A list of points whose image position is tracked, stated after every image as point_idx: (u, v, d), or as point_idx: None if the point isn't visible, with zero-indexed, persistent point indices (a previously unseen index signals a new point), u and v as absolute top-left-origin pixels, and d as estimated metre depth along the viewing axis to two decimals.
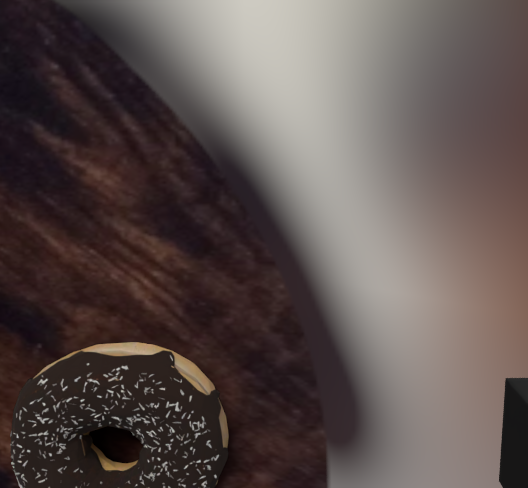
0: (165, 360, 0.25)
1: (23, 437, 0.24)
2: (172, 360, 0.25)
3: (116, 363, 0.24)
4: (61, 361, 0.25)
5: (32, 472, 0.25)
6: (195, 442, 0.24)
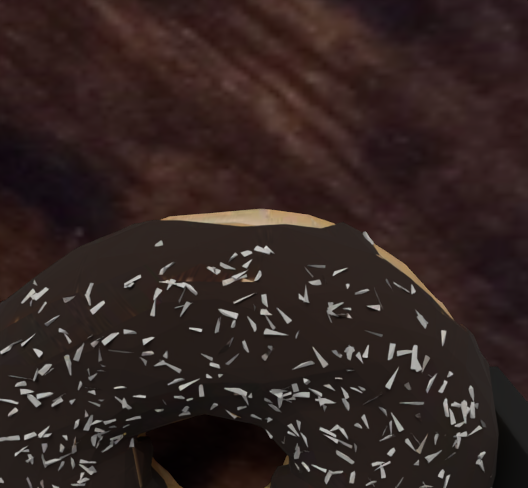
0: (357, 241, 0.09)
1: None
2: (371, 244, 0.10)
3: (238, 240, 0.09)
4: (84, 246, 0.09)
5: None
6: (452, 457, 0.09)
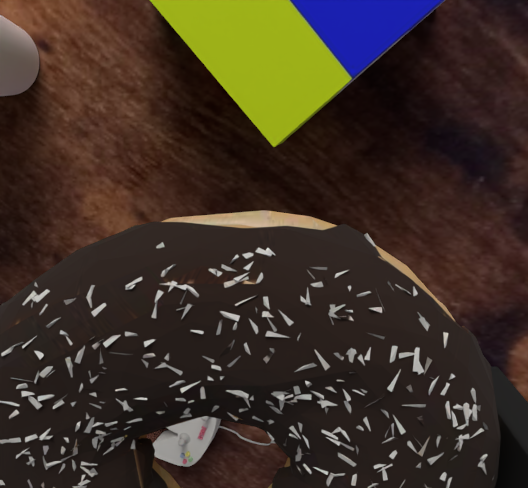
0: (359, 243, 0.09)
1: None
2: (373, 246, 0.10)
3: (240, 242, 0.09)
4: (85, 248, 0.09)
5: None
6: (454, 460, 0.09)
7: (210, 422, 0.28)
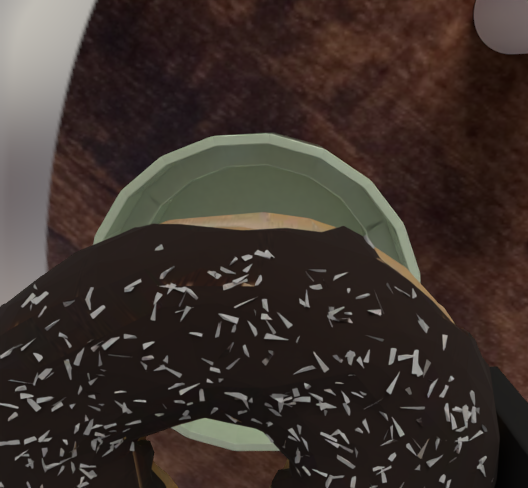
0: (358, 245, 0.09)
1: None
2: (372, 247, 0.10)
3: (239, 244, 0.09)
4: (84, 250, 0.09)
5: None
6: (453, 462, 0.09)
7: None
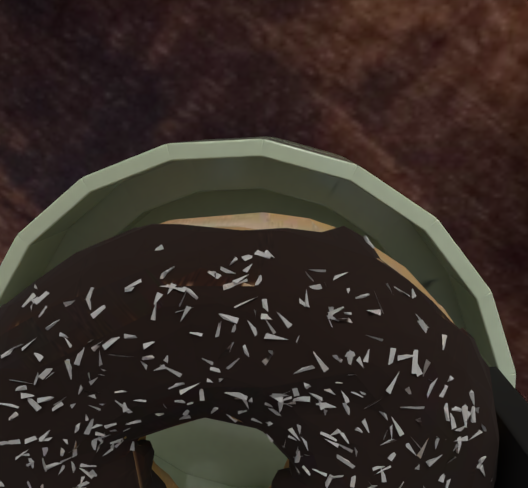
0: (358, 245, 0.09)
1: None
2: (372, 248, 0.10)
3: (238, 244, 0.09)
4: (84, 250, 0.09)
5: None
6: (453, 462, 0.09)
7: None
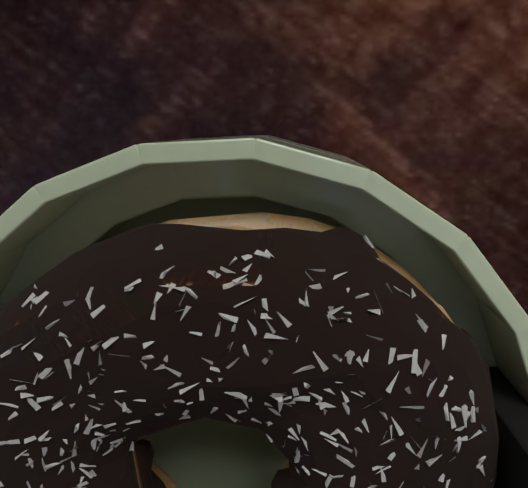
0: (358, 245, 0.09)
1: None
2: (372, 247, 0.10)
3: (238, 244, 0.09)
4: (84, 250, 0.09)
5: None
6: (452, 461, 0.09)
7: None
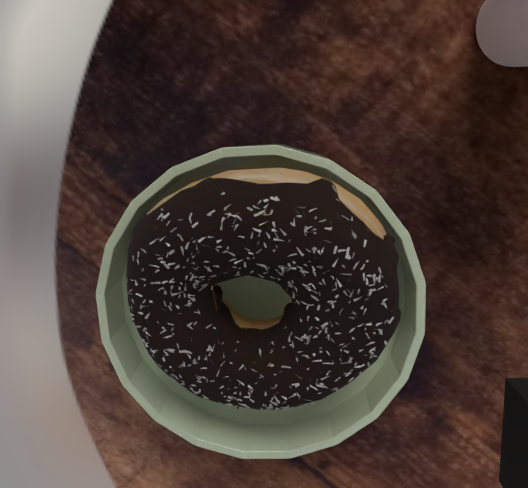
0: (327, 191, 0.17)
1: (143, 284, 0.19)
2: (335, 191, 0.18)
3: (262, 193, 0.17)
4: (185, 190, 0.18)
5: (156, 326, 0.20)
6: (367, 300, 0.18)
7: None
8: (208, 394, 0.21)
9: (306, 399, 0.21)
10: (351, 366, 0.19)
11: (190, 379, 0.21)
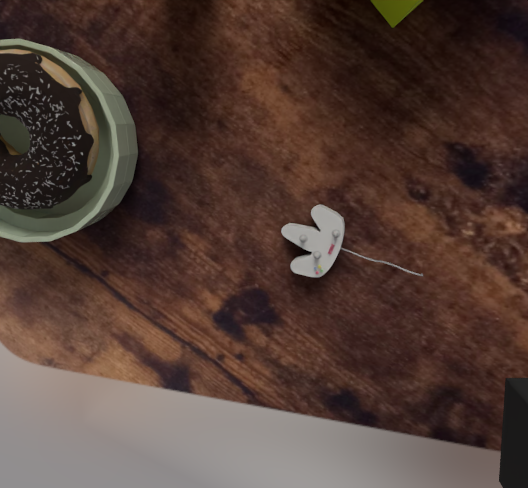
0: (31, 58, 0.31)
1: None
2: (37, 59, 0.31)
3: None
4: None
5: None
6: (57, 121, 0.32)
7: (337, 240, 0.38)
8: None
9: (46, 194, 0.34)
10: (63, 168, 0.33)
11: None
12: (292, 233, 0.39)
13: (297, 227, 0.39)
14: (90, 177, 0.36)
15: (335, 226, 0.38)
